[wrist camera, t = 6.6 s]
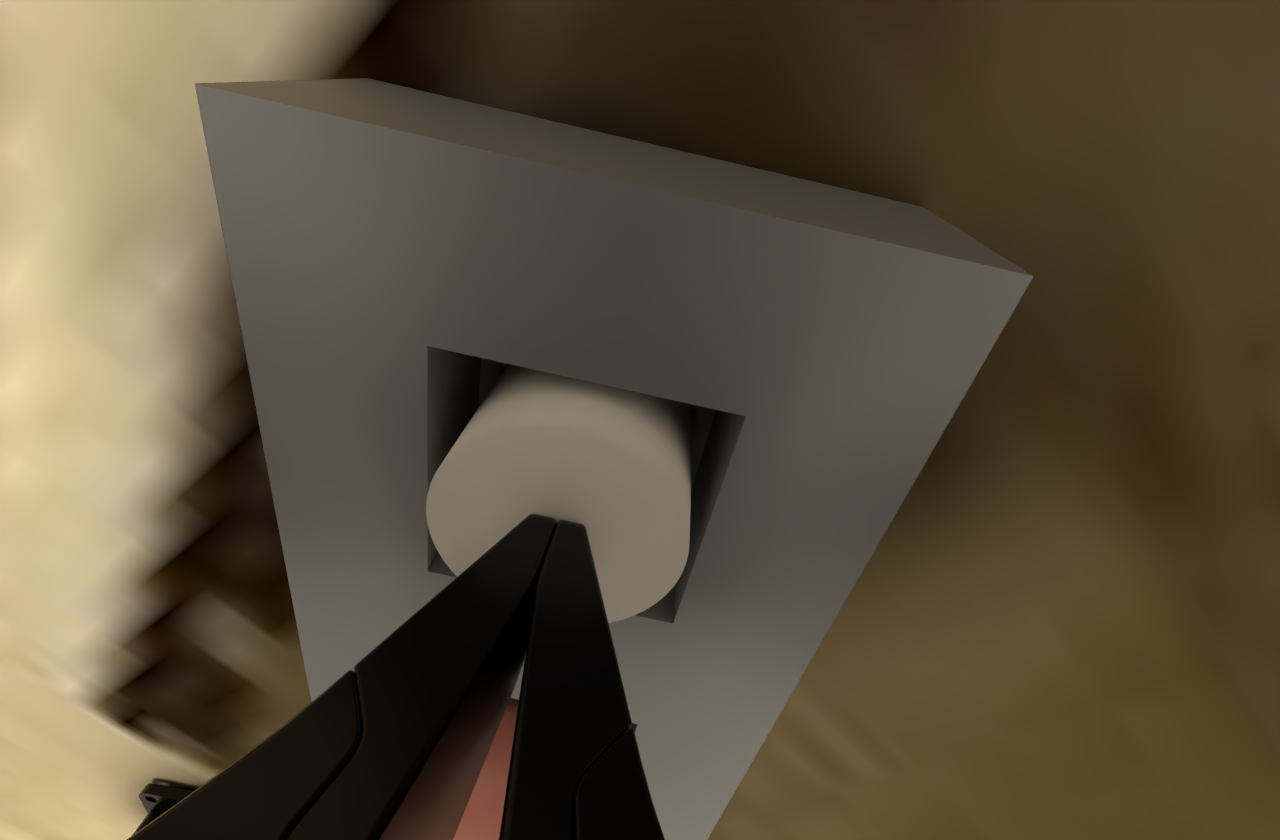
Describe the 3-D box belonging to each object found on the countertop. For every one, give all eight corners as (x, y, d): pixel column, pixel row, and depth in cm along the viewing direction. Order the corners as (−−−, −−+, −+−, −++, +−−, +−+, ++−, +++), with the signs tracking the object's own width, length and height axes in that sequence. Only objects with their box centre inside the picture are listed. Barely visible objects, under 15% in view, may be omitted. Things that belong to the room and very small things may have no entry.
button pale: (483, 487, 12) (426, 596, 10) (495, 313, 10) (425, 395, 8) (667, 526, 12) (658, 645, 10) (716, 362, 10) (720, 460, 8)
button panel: (402, 797, 24) (352, 919, 20) (368, 78, 10) (194, 83, 7) (639, 845, 24) (629, 974, 21) (923, 207, 10) (1033, 276, 7)
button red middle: (447, 762, 15) (394, 905, 12) (449, 671, 13) (387, 819, 10) (596, 793, 15) (574, 940, 13) (624, 707, 13) (605, 863, 10)
